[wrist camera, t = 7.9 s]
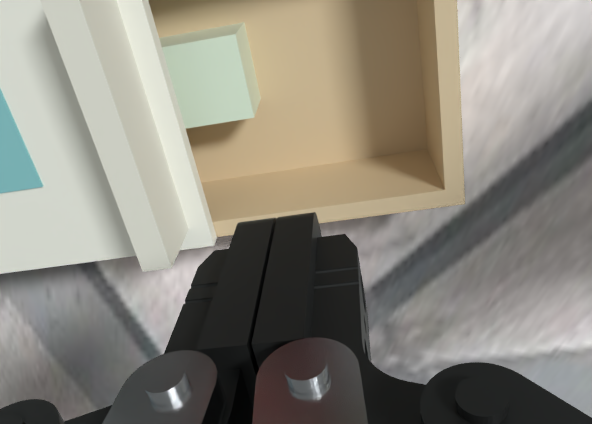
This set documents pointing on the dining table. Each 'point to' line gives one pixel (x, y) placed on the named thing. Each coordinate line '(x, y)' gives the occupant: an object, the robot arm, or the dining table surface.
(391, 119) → the open tan box
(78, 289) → the dining table surface
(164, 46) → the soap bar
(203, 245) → the lid
